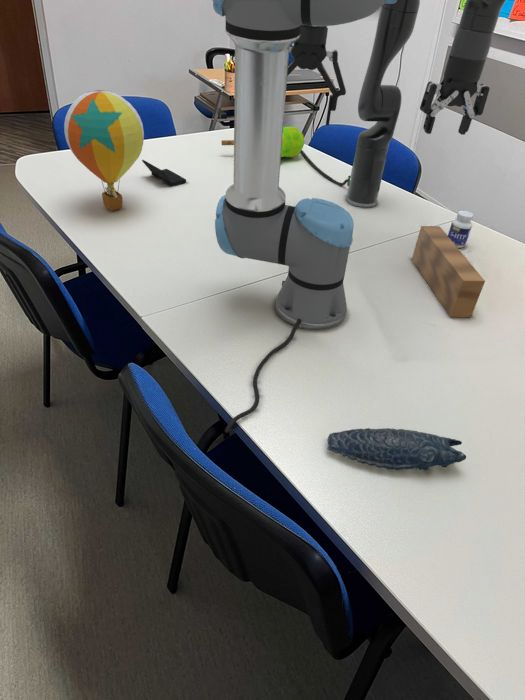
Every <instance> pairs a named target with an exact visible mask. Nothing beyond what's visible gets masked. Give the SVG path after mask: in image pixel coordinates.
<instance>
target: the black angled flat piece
mask: <svg viewBox="0 0 525 700" xmlns="http://www.w3.org/2000/svg"><path fill="white" fill-rule="evenodd" d="M141 161H142V163H143V164H144V165H145V167H147V169H148V170H149V171H150V172H151V174H150V175H151V176H153V177H155V178H156V179H158V180H160V181H162V182H163V183H165V184H167V185H168V186H170V187H172V186H177V185H180V184H184V183H185V184H186V183H187V179H186V178H184V177H183V176H181V175H179V174H177V173H175V172H173V171H172V170H170V169H168V168H164V169H161V168H159V167H157V166H155V165H153V164H151V163H150V162H148V161H146V160H145V159H142V160H141Z"/></svg>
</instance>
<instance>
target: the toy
mask: <svg viewBox="0 0 525 700" xmlns="http://www.w3.org/2000/svg"><path fill="white" fill-rule="evenodd" d="M63 128H64V130H63V131H64V132H63V133H64V137H65V141H66V144H67V146H68V148H69V150H70V151H71V152H72V154H73V156H75V158H76V159H77V161H78V162H80V163H81V165H83V166H84V167H85V168H86V169H87V170H88V171H90V172H91V173H92V174H93V175H94V176H96V177H97V178H98V179H100V180H101V183H102V184H101V185H102V187H103V191H102V193H101V198H102V203H103V205H104V207H105V208H106V209H108V210H109V211H110V212H113V211H118V210H121V209H122V208H123V203H124V201H123V195H122V194H121V193H120V192H119V191H118V190H119V188H120V183H118V182H120V181H121V178H122V177H123V176H124V175H125V174H126V173H127V172H128V171H129V170H130V169H131V167H133V165H134V164H135V163H136V161H137V160H138V159H139V158H140V155H141V153H142V150H143V147H144V141H145V131H144V130H145V129H144V125H143V121H142V119H141V116H140V114H139V113H138V111H137V109H136V108H134V106H133V105H132V103H130V102H129V101H128V100H127V99H126V98H124V97H123V96H122V95H119V94H117V93H115V92H112V91H109V90H102V89H101V90H100V89H98V90H92V91H87V92H85V93H82V95H79V96H78V97H77V98H76V99H75V100H73V102H72V103H71V105H70V107H69V108H68V111H67V112H66V114H65V118H64V124H63ZM104 183H105V184H106V185H107V186H106V187H105V186H104ZM115 183H118V185H117V190H116V188H115Z"/></svg>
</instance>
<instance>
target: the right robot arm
mask: <svg viewBox="0 0 525 700" xmlns="http://www.w3.org/2000/svg"><path fill="white" fill-rule="evenodd" d="M506 1H507V0H466V1H465V3H464V7H463V11H462V13H461V18H460V20H459V24H458V28H457V30H456V33H455V35H454V38H453V41H452V44H451V47H450V51H449V55H448V58H447V62H446V65H445V69H444V72H443V79H442V81H441V82H440V83H437V82H436V83H435V82H433V81H431V80H430V81H428V82H427V84H426V88H425V90H424V94H423V96H422V100H421V102H420V106H419V110H420V111H421V112H423V113H424V114H425V115H426V116H425V119H424V122H423V126H422V128H423V131H424V133H426V135H431V134H432V132H433V128H434V124H435V121H436V115H438V114H439V112H441V111H442V110H444V109H445V108H446V107H455V106H456V107H458V108H459V107H460V108H461V107H462V109H463V113H464V115H462V118H461V121H460V124H459V127H458V131H457V133H458V134H460V135H463V136H464V135H466V133H468V132H469V130H470V126H471V124H472V120H473V118H474V117H476V116H482V115H483V113H484V110H485V106H486V103H487V99H488V96H489V92H490V87H489V86H488V85H486V84H484V83H480V84H479V85H478V82H479V81H480V79H481V76H482V74H483V70H484V67H485V64H486V61H487V57H488V55H489V52H490V49H491V45H492V42H493V37H494V32H495V30H496V26H497V23H498V20H499V17H500V13H501V10H502V8H503V6H504V5H505V3H506ZM420 4H421V0H397V1H396V2H395V3H394V4H383V5H382V6H381V7H380V8H379V9H380V10H379V14H378V19H377V24H376V30H375V36H374V40H373V44H372V49H371V52H370V53H371V54H370V57H369V60H368V61H369V62H368V65H367V69H366V71H365V75H364V79H363V82H362V86H361V89H360V93H359V98H358V103H357V114H358V117H359V120H361V121H363V122H375V124H373V125H371V127H370V128H367V129H365V130H362V131H361V132H360V133H359V134H358V136H357V141H356V147H355V153H354V158H353V164H352V167H351V171H350V175H348V177H347V178H346V179H345V180H344V181H343V182H340V181H337V180H336V179H334V178H333V177H331V176H330V175H328V174H327V173H325V172H324V171H323V170H322V169H320V168H319V167H318V166H317V165H316V163H314V162H313V161H312V160H311V159H310V157H308V155H307V154H306V153H305V152H304V150H303V149H302V150H301V152H300V154H301V155H302V156H303V157H304V159H305V160H306V161H307V162H308V163H309V165H311V167H313V168H314V169H315V170H316V171H317V172H318V173H319V174H321V175H322V176H323V177H325V178H326V179H327V180H329V181H330V182H331V183H333V184H335V185H338V186H339V187H343V186H345V185H346V186H347V187H348V189H347V194H346V201H347V203H348V204H350V205H352V206H356V207H359V208H372V207H375V206H376V205H377V204H378V197H379V193H380V188H381V184H382V179H383V174H384V170H385V165H386V161H387V156H388V152H389V147H390V144H391V142H392V139H393V137H394V134H395V129H396V125H397V122H398V119H399V116H400V111H401V106H402V99H403V98H402V91H401V89H400V87H398V86H397V85H393V84H382V82H383V79H384V76H385V74H386V71H387V69H388V68H389V66H390V65H391V63H392V61H393V60H394V59H395V58H396V57H397V55H398V54H399V53H400V52H401V50H402V49H403V48H404V47H405V45H406V44H407V42H409V39H410V38H411V36H412V34H413V32H414V29H415V26H416V21H417V17H418V14H419V9H420ZM438 91H439V94H438ZM437 94H438V95H437ZM435 95H437V96H436V98H435ZM474 95H476V96H475V101H474V104H473V102H472V99H471V98H472V97H473V96H474Z"/></svg>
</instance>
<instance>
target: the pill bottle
mask: <svg viewBox="0 0 525 700" xmlns="http://www.w3.org/2000/svg"><path fill="white" fill-rule="evenodd" d="M473 217H474V214H473V213H472V212H471V211H468V210H459V211H458V212H457V214H456V218H453V220H452V221H451V224H450V227H449V230H448V233H447V236H448V237H449V238H450V239H451V241H452V242H453V243H454V244H455V245H456V247H457V248H458V249H461V248H464V247H465V246H466V245H467V242H468V239H469V236H470V233H471V231H472V228H473V223H472V220H473Z"/></svg>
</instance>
